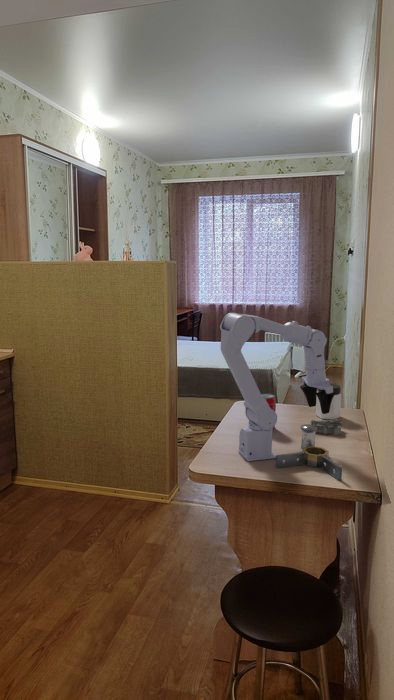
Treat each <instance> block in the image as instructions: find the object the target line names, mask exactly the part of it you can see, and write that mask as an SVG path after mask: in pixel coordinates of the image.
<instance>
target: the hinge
mask: <svg viewBox="0 0 394 700" xmlns="http://www.w3.org/2000/svg"><path fill="white" fill-rule="evenodd" d="M275 455H276V458H275V468H276V469H283V468H290V467H299V466H307V467H310V468H316V469H319V468H320V469H322V470H323V471H324V472H326V473H327V474H329V475H330V476H331V477H333V478H334V479H335V480H337V481H342V478H343V467H342V466H341V465H339V464H338V463H337V462H335V461H333V460H332V459H330V458H329V455H330V451H329V450H327V449H326V448H324V447H320V446H314V447H313V446H311V447H305V448H304V449H303V450H302V449H301V451H299V452H290V453H282V454H281V453H280V454H275Z"/></svg>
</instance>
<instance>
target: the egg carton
mask: <svg viewBox="0 0 394 700" xmlns="http://www.w3.org/2000/svg"><path fill="white" fill-rule="evenodd" d="M342 422H343V421H342V419H339V418H337V419H333V420H330V419H327V420H323V419H322V420H316V419H311V421H310V425H314V426H316V427H317V430H316V431H315V434H316V433H322V434H325V435H327V434H333V436H338V435H341V434H342V433H341V432H342V428H343V425H342V424H343V423H342Z"/></svg>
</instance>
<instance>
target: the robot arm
mask: <svg viewBox="0 0 394 700" xmlns="http://www.w3.org/2000/svg"><path fill="white" fill-rule="evenodd" d="M219 328H220V331H221V332H220V352H221V354H222V355H223V359H224V360H225V363H226V365H227V366H228V369H229V371H230V373H231V375H232V377H233V379H234V381H235V384H236V385H237V387H238V390H239V392H240V394H241V396H242V397H243V400H244V402H243V406H244V409H245V410H244V411H245V412H244V414H245V417H246V419H248V426H246V427H243V428H240V430H239V441H238V442H239V443H238V451H237V452H238V453H239V455H241V456H242V457H243V458H244V459H245V460H246V461H247V462H254V461H262V460H269V459H270V460H272V459H276V455H277V454H275V453H274V452H273V430H274V429H273V427H274V426H275V427H276V425H277V422H278V415H277V414H278V413H276V411H274V410H272V409H271V408H270V406H269V404H268V403H267V402H266V400H265V399H264V398H263V397H262V395H261V394H262V393H261V392H260V389H259V387H258V385H257V382H256V380H255V378H254V375H253V374H252V372H251V369H250V368H249V365H248V363H247V361H246V359H245V357H244V354H243V353H242V348H243V346H244V345H245V344H246V342H247V341H248V340H249V339H250V338H251V337H252V336H253V333H255V334H257V333H259V332H260V331H264V332H268V333H269V332H270V333H273V334H276V335H280V336H281V337H280V338H282V340H283V341H285V342H287V343H288V342H289V343H293V344H296V345H298V346H302V347H303V351H304V352H303V353H304V361H305V372H306V375H305V376H301V383H303V384H302V385H301V384H300V387H299V388H300V389H301V391H302V392H303V394H304V397H305V399H306V402H307V406H308V407H309V408H313V407H316V400H317V397H318V399H319V402H320V406H321V411H322V414H326V413H329V411H330V406H331V402H332V399H333V397H334V395H335V391H334V390H333V386H331V385H330V384H331V383H330V378H327V375H326V364H325V363H326V362H325V347H326V346H327V345H326V344H327V342H328V338H327V337H326V335H325V334H324V332H323V331H322V330H319V329H314V328H312V326H310V325H306V326H304V325H301V324H299V322H298V321H295V320H292V321H288V322H286V323H284V324H282V323H279V322H276V321H274V320H270V319H268V318H264V317H261V316H257V315H252V314H247V313H246V314H245V313H237V312H235V311H234V312H229V313H227V314H226V315H225V316H224V317H223V318H222V321H221V323H220V325H219ZM329 383H330V384H329ZM318 389H321V390H322V392H317V391H318Z"/></svg>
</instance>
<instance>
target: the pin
mask: <svg viewBox="0 0 394 700" xmlns="http://www.w3.org/2000/svg"><path fill="white" fill-rule="evenodd" d="M300 430H301V445H300V446H301V451H302V450H303V449H304V448H305V447H311V446H313V447H314V446H315V445H316V444H315V443H316V433H315V431H316V430H317V427H316V426H314V425H311V424H305V423H304V424H301V425H300ZM315 447H316V446H315Z"/></svg>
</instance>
